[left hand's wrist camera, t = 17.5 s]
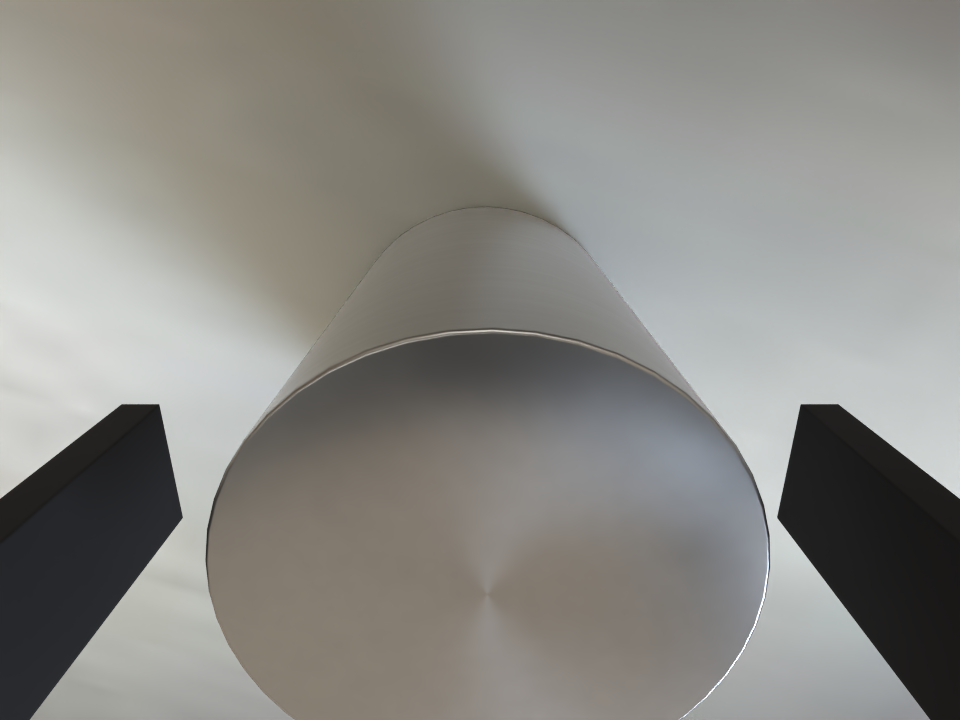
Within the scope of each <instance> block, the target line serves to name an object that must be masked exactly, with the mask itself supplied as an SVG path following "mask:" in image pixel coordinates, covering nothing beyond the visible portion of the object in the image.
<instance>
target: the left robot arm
mask: <svg viewBox="0 0 960 720" xmlns="http://www.w3.org/2000/svg"><path fill="white" fill-rule="evenodd" d="M182 518H183V516H182V512H181V507H180V502H179V497H178V492H177V488H176V483H175V478H174V473H173V468H172V464H171V459H170V454H169V449H168V444H167V439H166V435H165V430H164V425H163V420H162V415H161V411H160V406H159V404H122V405H120V406H119V407H118V408H117V409H115V410H114V411H113V412H111V413H110V414H109V415H108V416H106V417H105V418H104V419H102V420H101V421H100V422H99V423H97V424H96V425H95V426H93V427H92V428H91V429H90V430H88V431H87V432H86V433H84V434H83V435H82V436H81V437H79V438H78V439H77V440H75V441H74V442H73V443H72V444H70V445H69V446H68V447H66V448H65V449H64V450H63V451H61V452H60V453H59V454H57V455H56V456H55V457H54V458H52V459H51V460H50V461H48V462H47V463H46V464H45V465H43V466H42V467H41V468H39V469H38V470H37V471H36V472H34V473H33V474H32V475H30V476H29V477H28V478H27V479H25V480H24V481H23V482H21V483H20V484H19V485H18V486H16V487H15V488H14V489H12V490H11V491H10V492H9V493H7V494H6V495H5V496H3V497H2V498H1V499H0V720H30V719H31V717H32V716H33V715H34V713H35V712H36V711H37V709H38V708H39V707H40V705H41V704H42V703H43V701H44V700H45V699H46V697H47V696H48V695H49V693H50V692H51V691H52V690H53V688H54V687H55V686H56V684H57V683H58V682H59V680H60V679H61V678H62V676H63V675H64V674H65V672H66V671H67V670H68V668H69V667H70V666H71V664H72V663H73V662H74V660H75V659H76V658H77V657H78V655H79V654H80V653H81V651H82V650H83V649H84V647H85V646H86V645H87V643H88V642H89V641H90V639H91V638H92V637H93V635H94V634H95V633H96V631H97V630H98V629H99V628H100V626H101V625H102V624H103V622H104V621H105V620H106V618H107V617H108V616H109V614H110V613H111V612H112V610H113V609H114V608H115V606H116V605H117V604H118V602H119V601H120V600H121V599H122V597H123V596H124V595H125V593H126V592H127V591H128V589H129V588H130V587H131V585H132V584H133V583H134V581H135V580H136V579H137V577H138V576H139V575H140V573H141V572H142V571H143V570H144V568H145V567H146V566H147V564H148V563H149V562H150V560H151V559H152V558H153V556H154V555H155V554H156V552H157V551H158V550H159V548H160V547H161V546H162V544H163V543H164V542H165V541H166V539H167V538H168V537H169V535H170V534H171V533H172V531H173V530H174V529H175V527H176V526H177V525H178V523H179V522H180V521H181V519H182ZM777 518H778V519H779V521H780V522H781V523H782V525H783V526H784V527H785V529H786V530H787V531H788V533H789V534H790V535H791V537H792V538H793V539H794V541H795V542H796V543H797V544H798V546H799V547H800V548H801V550H802V551H803V552H804V554H805V555H806V556H807V558H808V559H809V560H810V562H811V563H812V564H813V566H814V567H815V568H816V570H817V571H818V572H819V573H820V575H821V576H822V577H823V579H824V580H825V581H826V583H827V584H828V585H829V587H830V588H831V589H832V591H833V592H834V593H835V595H836V596H837V597H838V599H839V600H840V601H841V602H842V604H843V605H844V606H845V608H846V609H847V610H848V612H849V613H850V614H851V616H852V617H853V618H854V620H855V621H856V622H857V624H858V625H859V626H860V628H861V629H862V630H863V631H864V633H865V634H866V635H867V637H868V638H869V639H870V641H871V642H872V643H873V645H874V646H875V647H876V649H877V650H878V651H879V653H880V654H881V655H882V657H883V658H884V659H885V661H886V662H887V663H888V664H889V666H890V667H891V668H892V670H893V671H894V672H895V674H896V675H897V676H898V678H899V679H900V680H901V682H902V683H903V684H904V686H905V687H906V688H907V690H908V691H909V692H910V693H911V695H912V696H913V697H914V699H915V700H916V701H917V703H918V704H919V705H920V707H921V708H922V709H923V711H924V712H925V713H926V715H927V716H928V717H929V719H930V720H960V499H959V498H958V497H957V496H955V495H954V494H953V493H951V492H950V491H949V490H948V489H946V488H945V487H944V486H942V485H941V484H940V483H939V482H937V481H936V480H935V479H933V478H932V477H931V476H930V475H928V474H927V473H926V472H924V471H923V470H922V469H921V468H919V467H918V466H917V465H915V464H914V463H913V462H912V461H910V460H909V459H908V458H906V457H905V456H904V455H903V454H901V453H900V452H899V451H897V450H896V449H895V448H894V447H892V446H891V445H890V444H888V443H887V442H886V441H885V440H883V439H882V438H881V437H879V436H878V435H877V434H876V433H874V432H873V431H872V430H870V429H869V428H868V427H867V426H865V425H864V424H863V423H861V422H860V421H859V420H858V419H856V418H855V417H854V416H852V415H851V414H850V413H849V412H847V411H846V410H845V409H843V408H842V407H841V406H840V405H838V404H801V406H800V411H799V415H798V420H797V425H796V430H795V435H794V439H793V444H792V449H791V454H790V459H789V464H788V468H787V473H786V478H785V483H784V488H783V492H782V497H781V502H780V507H779V512H778V516H777Z"/></svg>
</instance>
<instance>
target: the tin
mask: <svg viewBox="0 0 960 720" xmlns="http://www.w3.org/2000/svg"><path fill="white" fill-rule="evenodd" d="M206 569H207V578H208V586H209V592H210V596H211V600H212V603H213V607H214V610H215V614H216V618H217V620H218V622H219V625H220V627H221V629H222V631H223V633H224V636H225V638H226V640H227V642H228V645H229V646H230V648H231V649H232V651H233V653H234V654H235V656H236V657H237V659H238V660H239V662H240V664H241V665H242V667H243V668H244V670H245V671H246V672H247V673H248V675H249V676H250V677H251V678H252V679H253V680H254V682H255V683H256V684H257V685H258V686H259V688H260V689H261V690H262V691H263V692H264V693H265V694H266V695H267V696H268V697H269V698H270V699H271V700H272V701H273V702H274V703H276V704H277V705H278V706H279V707H280V708H281V709H282V710H283V711H284V712H285V713H287V714H288V715H289V716H291V717H292V718H294V719H295V720H681V719H682V718H684V717H685V716H686V715H687V714H688V713H690V712H691V711H692V710H693V709H694V708H695V707H696V706H698V705H699V704H700V703H701V702H702V701H703V700H704V699H706V698H707V697H708V696H709V695H710V693H711V692H712V691H713V690H714V689H715V688H716V687H717V686H718V685H719V683H720V682H721V681H722V680H723V679H724V678H725V677H726V676H727V674H728V673H729V671H730V670H731V668H732V667H733V666H734V664H735V663H736V661H737V660H738V658H739V657H740V655H741V654H742V652H743V651H744V649H745V647H746V645H747V643H748V641H749V639H750V637H751V635H752V633H753V631H754V629H755V627H756V625H757V622H758V618H759V615H760V612H761V609H762V606H763V603H764V600H765V596H766V590H767V583H768V577H769V570H770V541H769V530H768V525H767V520H766V514H765V509H764V504H763V501H762V499H761V496H760V493H759V490H758V488H757V485H756V482H755V479H754V477H753V474H752V472H751V471H750V469H749V467H748V465H747V464H746V462H745V460H744V458H743V457H742V455H741V453H740V451H739V450H738V448H737V446H736V445H735V443H734V442H733V441H732V439H731V438H730V437H729V436H728V434H727V433H726V432H725V430H724V429H723V428H722V426H721V425H720V424H719V423H718V421H717V420H716V419H715V417H714V416H713V415H712V413H711V412H710V411H709V410H708V408H707V407H706V406H705V404H704V403H703V402H702V400H701V399H700V398H699V397H698V395H697V394H696V393H695V391H694V390H693V389H692V388H691V386H690V385H689V384H688V382H687V381H686V380H685V378H684V377H683V376H682V375H681V373H680V372H679V371H678V369H677V368H676V367H675V365H674V364H673V363H672V362H671V360H670V359H669V358H668V356H667V355H666V354H665V353H664V351H663V350H662V349H661V347H660V346H659V345H658V343H657V342H656V341H655V340H654V338H653V337H652V336H651V334H650V333H649V332H648V330H647V329H646V328H645V327H644V325H643V324H642V323H641V321H640V320H639V319H638V318H637V316H636V315H635V314H634V312H633V311H632V310H631V308H630V307H629V306H628V305H627V303H626V302H625V301H624V299H623V298H622V297H621V295H620V294H619V293H618V292H617V290H616V289H615V288H614V286H613V285H612V284H611V283H610V281H609V280H608V279H607V277H606V276H605V275H604V273H603V272H602V271H601V270H600V268H599V267H598V266H597V264H596V263H595V262H594V261H593V259H592V258H591V257H590V256H589V254H588V253H587V252H586V251H585V249H583V248H582V247H581V246H580V245H579V244H578V243H577V242H576V241H575V240H574V239H573V238H572V237H570V236H569V235H568V234H566V233H565V232H563V231H562V230H561V229H559V228H558V227H556V226H554V225H552V224H550V223H548V222H546V221H545V220H543V219H541V218H538V217H535V216H532V215H529V214H527V213H524V212H520V211H515V210H510V209H506V208H493V207H477V208H465V209H460V210H455V211H450V212H447V213H444V214H441V215H438V216H435V217H432V218H430V219H428V220H426V221H424V222H422V223H420V224H418V225H416V226H414V227H413V228H411V229H410V230H408V231H407V232H405V233H404V234H402V235H401V236H400V237H398V238H397V239H396V240H395V241H394V242H393V243H392V244H391V245H390V246H388V247H387V248H386V250H385V251H384V252H383V253H382V254H381V256H380V257H379V258H378V259H377V260H376V262H375V263H374V264H373V266H372V267H371V268H370V270H369V271H368V272H367V274H366V275H365V276H364V278H363V279H362V280H361V282H360V283H359V285H358V286H357V287H356V289H355V290H354V291H353V293H352V294H351V295H350V297H349V298H348V299H347V301H346V302H345V304H344V305H343V306H342V308H341V309H340V310H339V312H338V313H337V314H336V316H335V317H334V318H333V320H332V321H331V323H330V324H329V325H328V327H327V328H326V329H325V331H324V332H323V333H322V335H321V336H320V337H319V339H318V340H317V342H316V343H315V344H314V346H313V347H312V348H311V350H310V351H309V352H308V354H307V355H306V356H305V358H304V359H303V361H302V362H301V363H300V365H299V366H298V367H297V369H296V370H295V371H294V373H293V374H292V375H291V377H290V378H289V380H288V381H287V382H286V384H285V385H284V386H283V388H282V389H281V390H280V392H279V393H278V394H277V396H276V397H275V398H274V400H273V401H272V403H271V404H270V405H269V407H268V408H267V409H266V411H265V412H264V413H263V415H262V416H261V417H260V419H259V420H258V422H257V423H256V424H255V426H254V427H253V428H252V430H251V431H250V432H249V434H248V435H247V436H246V438H245V439H244V441H243V442H242V444H241V446H240V447H239V449H238V450H237V452H236V454H235V455H234V457H233V459H232V460H231V462H230V463H229V465H228V467H227V468H226V471H225V473H224V475H223V478H222V480H221V483H220V485H219V488H218V490H217V493H216V495H215V498H214V501H213V506H212V510H211V514H210V519H209V523H208V528H207V543H206Z"/></svg>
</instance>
